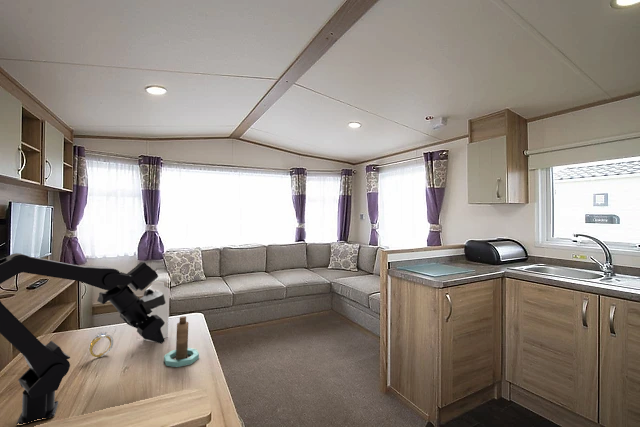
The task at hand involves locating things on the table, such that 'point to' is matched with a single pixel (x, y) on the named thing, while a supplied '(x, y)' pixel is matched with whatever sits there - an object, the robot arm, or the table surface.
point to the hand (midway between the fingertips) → (156, 337)
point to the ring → (99, 336)
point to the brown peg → (182, 339)
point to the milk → (161, 306)
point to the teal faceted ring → (182, 362)
